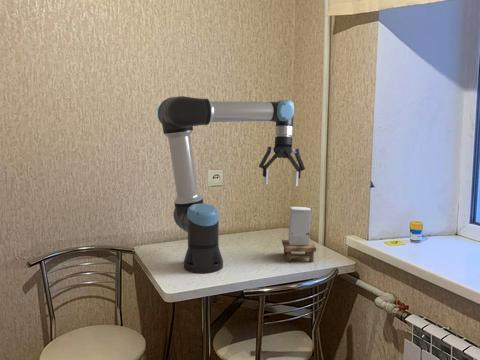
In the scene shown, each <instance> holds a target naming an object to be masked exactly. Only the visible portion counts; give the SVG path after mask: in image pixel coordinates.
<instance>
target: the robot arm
mask: <svg viewBox="0 0 480 360" xmlns="http://www.w3.org/2000/svg"><path fill="white" fill-rule="evenodd" d="M294 115H295V104H294V102H293V101H292V100H288V99H287V100H285V99H282V100H280V99H279V100H277V101H212V100H211V101H210V99H209V98H198V97H193V96H192V97H190V96H185V95H184V96H183V95H181V96H172V97H168V98H166V99H164V100H162V102H161V103H160V104H159V106H158V108H157V119H158V121H159V123H160V124H161V127H162V131H163V132H162V133H163V135H164V136H166V138H168V146H169V152H170V157H171V158H170V159H171V166H172V171H173V179H174V184H175V191H176V192H175V193H176V198H175V199H174V201H173V204H174V209H173V212H172V214H173V215H172V216H173V220H174V222H175V224H176V225H177V227H179V229H181V230H183V231H184V232H186V233H187V250H186V253H185V255H184V258H183V268H184V269H183V270H186V271H188V272H189V273H190V272H191V273H195V274H209V273H214V272H219V271H221V270H222V268H224V258H223V256H222V253H221V250H220V247H219V245H220V244H219V239H220V236H219V233H220V232H219V231H220V230H219V229H220V228H219V226H220V225H219V223H220V221H219V219H220V216H219V210H218V208H217V207H216V206H214V205H213V204H208V203H204V198H203V196H202V195H201V194H199V190H198V189H199V188H198V183H197V181H198V180H197V175H196V167H195V160H194V155H193V154H194V152H193V147H192V146H193V145H192V140H191V134H192V133H193V131H194V127H198V126H208V125H210V124H211V123H232V122H234V123H235V122H236V123H237V122H241V123H242V122H272V123H275V130H274V132H275V134H274V135H275V138H274V147H272V146H267V148H266V152H265V154H264V156H263V157H262V160H261V161H260V163H259V164H258V167H259V168H260V169H262V177H264V181H263V182H264V183H263V185H268V184H269V169H268V168H269V167H270V166H271V164H273V163H274V161H275V160H277V158H278V159H287V160H288V161H290V163H291V165H292V166H293V167H294V169H295V170H296V171H295V170H294V182H293V186H294V187H298V186H299V179H301V172H302V171H305V170H306V168H305V164H304V163H303V160H302V157H301V155H300V149H299V148H293V134H294V118H295V117H294ZM272 152H273V153H274V154H273V155H272V157H271V158H269V157H270V155H271V153H272ZM292 153H293V154H294V156H295V157H293V156H292ZM268 158H269V160H268ZM294 158H295V159H296V160H295V159H294ZM267 160H268V161H267Z"/></svg>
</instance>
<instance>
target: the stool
mask: <svg viewBox="0 0 480 360" xmlns="http://www.w3.org/2000/svg"><path fill="white" fill-rule="evenodd" d="M281 244H282V246H283V255H284V256H286V263H291V262H292V259H308V262H309V263H315V262H314V261H315V259H314V258H315V257H314V255H315V253H317V247H316V245H315V244H314V242H313V241H312V240H311V239H310V240H309V246H306V245H289V241H288V239H281ZM296 252H297V253H304V254H295V255H294V254H292V253H296Z"/></svg>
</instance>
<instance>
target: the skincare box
mask: <svg viewBox="0 0 480 360" xmlns="http://www.w3.org/2000/svg"><path fill="white" fill-rule="evenodd" d="M311 218H312V209H311V208H310V207H309V206H308V207H303V206H290V207H289V220H288V221H289V223H288V239H287V240H288V241H289V245H306V246H309V240H311V238H310V236H311V221H312V219H311Z"/></svg>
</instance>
